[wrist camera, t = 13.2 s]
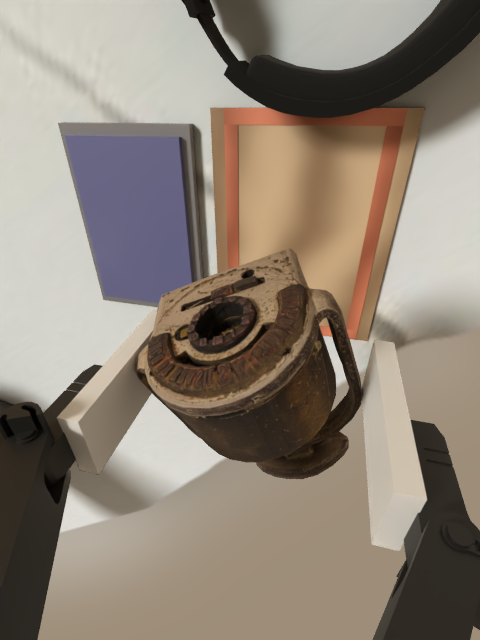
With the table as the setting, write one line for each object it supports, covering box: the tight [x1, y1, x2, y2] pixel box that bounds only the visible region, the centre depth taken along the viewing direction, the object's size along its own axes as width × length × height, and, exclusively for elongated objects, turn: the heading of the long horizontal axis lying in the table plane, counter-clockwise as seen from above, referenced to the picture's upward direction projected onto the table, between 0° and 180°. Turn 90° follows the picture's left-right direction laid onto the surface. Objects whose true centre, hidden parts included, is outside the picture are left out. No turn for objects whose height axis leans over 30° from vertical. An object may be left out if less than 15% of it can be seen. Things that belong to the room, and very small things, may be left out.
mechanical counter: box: [135, 249, 362, 479], centre depth 15 cm, size 7×13×10 cm
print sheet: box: [210, 108, 425, 341], centre depth 27 cm, size 14×18×1 cm
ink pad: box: [58, 122, 203, 307], centre depth 30 cm, size 11×16×1 cm
